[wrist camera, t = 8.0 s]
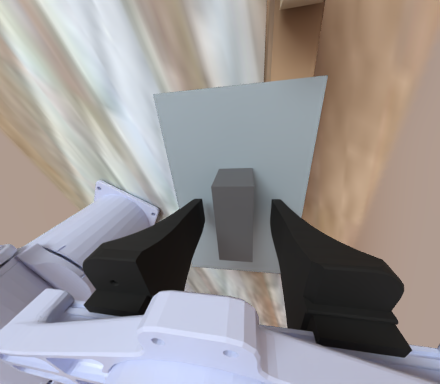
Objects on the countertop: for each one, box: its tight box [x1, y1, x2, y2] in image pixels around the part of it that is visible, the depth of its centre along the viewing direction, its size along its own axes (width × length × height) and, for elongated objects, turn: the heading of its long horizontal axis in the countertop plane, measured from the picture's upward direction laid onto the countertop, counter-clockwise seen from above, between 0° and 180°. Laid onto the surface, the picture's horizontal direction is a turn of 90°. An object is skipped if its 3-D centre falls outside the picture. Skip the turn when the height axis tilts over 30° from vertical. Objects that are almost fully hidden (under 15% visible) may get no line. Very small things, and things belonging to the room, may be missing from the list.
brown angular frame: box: [264, 0, 325, 82], centre depth 14 cm, size 22×10×4 cm, turn 4°
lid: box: [153, 75, 328, 274], centre depth 13 cm, size 16×10×5 cm, turn 4°
